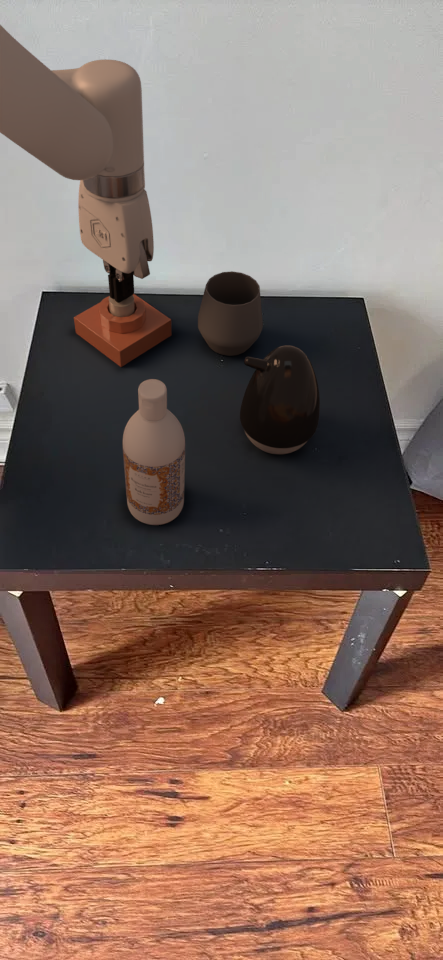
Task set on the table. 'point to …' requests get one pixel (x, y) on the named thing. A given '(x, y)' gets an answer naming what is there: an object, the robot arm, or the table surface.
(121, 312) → the tan short cylinder
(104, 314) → the button housing
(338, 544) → the table surface
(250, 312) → the cup
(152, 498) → the bath foam
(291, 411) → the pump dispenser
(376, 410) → the table surface
